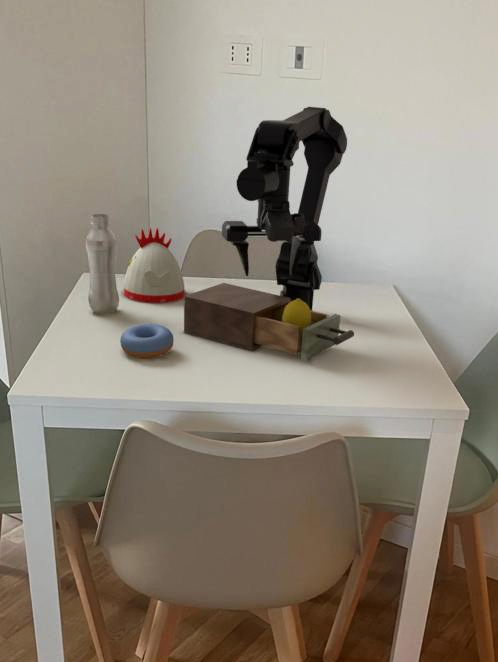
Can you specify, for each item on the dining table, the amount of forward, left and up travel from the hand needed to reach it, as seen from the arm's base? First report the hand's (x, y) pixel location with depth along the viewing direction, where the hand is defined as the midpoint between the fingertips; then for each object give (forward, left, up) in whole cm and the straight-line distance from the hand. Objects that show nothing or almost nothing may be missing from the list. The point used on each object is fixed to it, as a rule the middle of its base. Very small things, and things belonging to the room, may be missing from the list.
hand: (269, 275), depth 160 cm
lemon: (-4, +10, -10) cm, 15 cm away
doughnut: (+25, +10, -12) cm, 30 cm away
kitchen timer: (+20, -29, -12) cm, 37 cm away
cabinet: (+6, 0, -12) cm, 13 cm away
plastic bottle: (+32, -16, -12) cm, 38 cm away
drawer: (-4, +11, -11) cm, 16 cm away
